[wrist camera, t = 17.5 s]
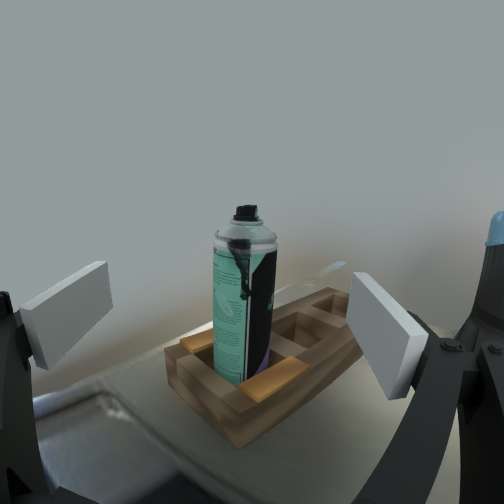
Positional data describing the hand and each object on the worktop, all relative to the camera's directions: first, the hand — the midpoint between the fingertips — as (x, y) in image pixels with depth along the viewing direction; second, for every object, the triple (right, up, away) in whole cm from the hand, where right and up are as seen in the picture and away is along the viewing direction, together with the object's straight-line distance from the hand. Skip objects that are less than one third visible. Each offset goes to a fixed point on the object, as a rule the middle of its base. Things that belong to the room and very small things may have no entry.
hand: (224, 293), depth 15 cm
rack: (+7, -12, +21) cm, 26 cm away
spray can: (0, -14, +15) cm, 20 cm away
